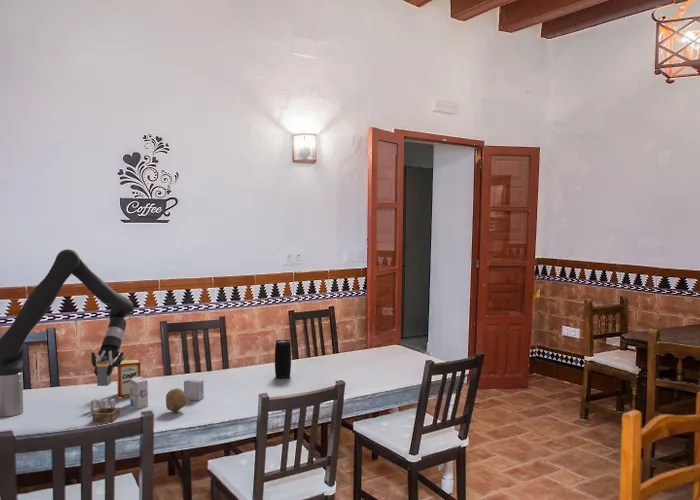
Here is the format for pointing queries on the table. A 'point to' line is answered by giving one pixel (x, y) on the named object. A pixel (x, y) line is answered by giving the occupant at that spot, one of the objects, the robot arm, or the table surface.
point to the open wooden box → (106, 415)
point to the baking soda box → (127, 375)
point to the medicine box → (194, 389)
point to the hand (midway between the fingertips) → (102, 374)
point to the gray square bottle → (103, 372)
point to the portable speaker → (282, 358)
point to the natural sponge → (176, 400)
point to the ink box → (139, 392)
